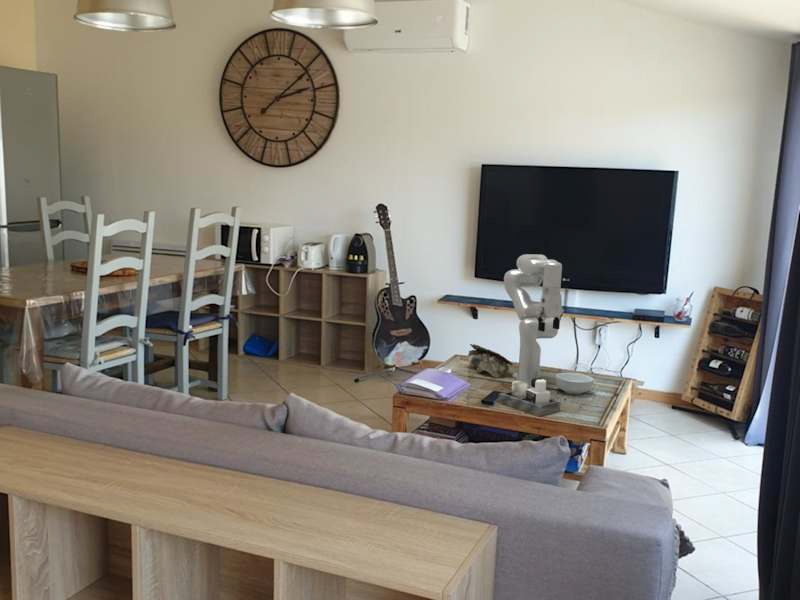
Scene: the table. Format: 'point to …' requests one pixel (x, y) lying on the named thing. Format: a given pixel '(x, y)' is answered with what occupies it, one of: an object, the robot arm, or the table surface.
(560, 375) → the cereal bowl
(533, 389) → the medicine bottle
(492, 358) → the hollow geode rock
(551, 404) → the rail rack
